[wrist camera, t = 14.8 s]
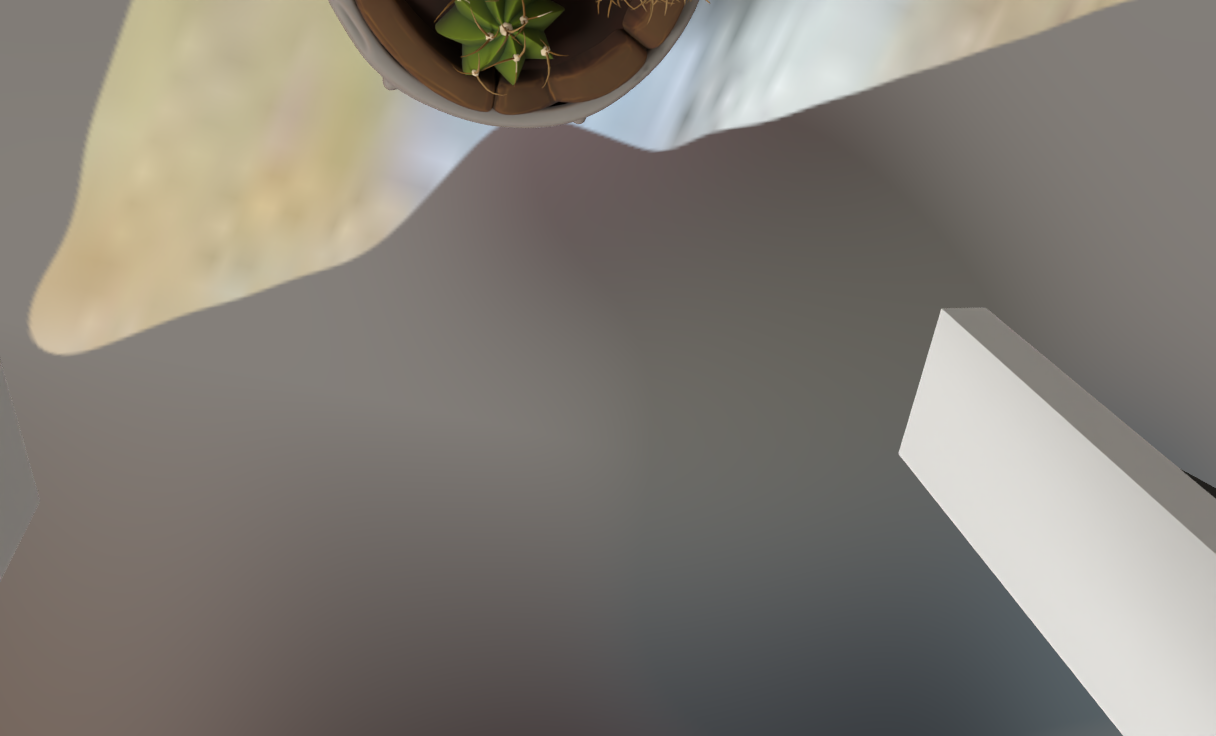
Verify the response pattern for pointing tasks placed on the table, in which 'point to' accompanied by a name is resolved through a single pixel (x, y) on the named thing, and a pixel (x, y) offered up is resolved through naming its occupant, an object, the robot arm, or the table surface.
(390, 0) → the flowerpot
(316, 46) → the table surface
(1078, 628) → the robot arm
